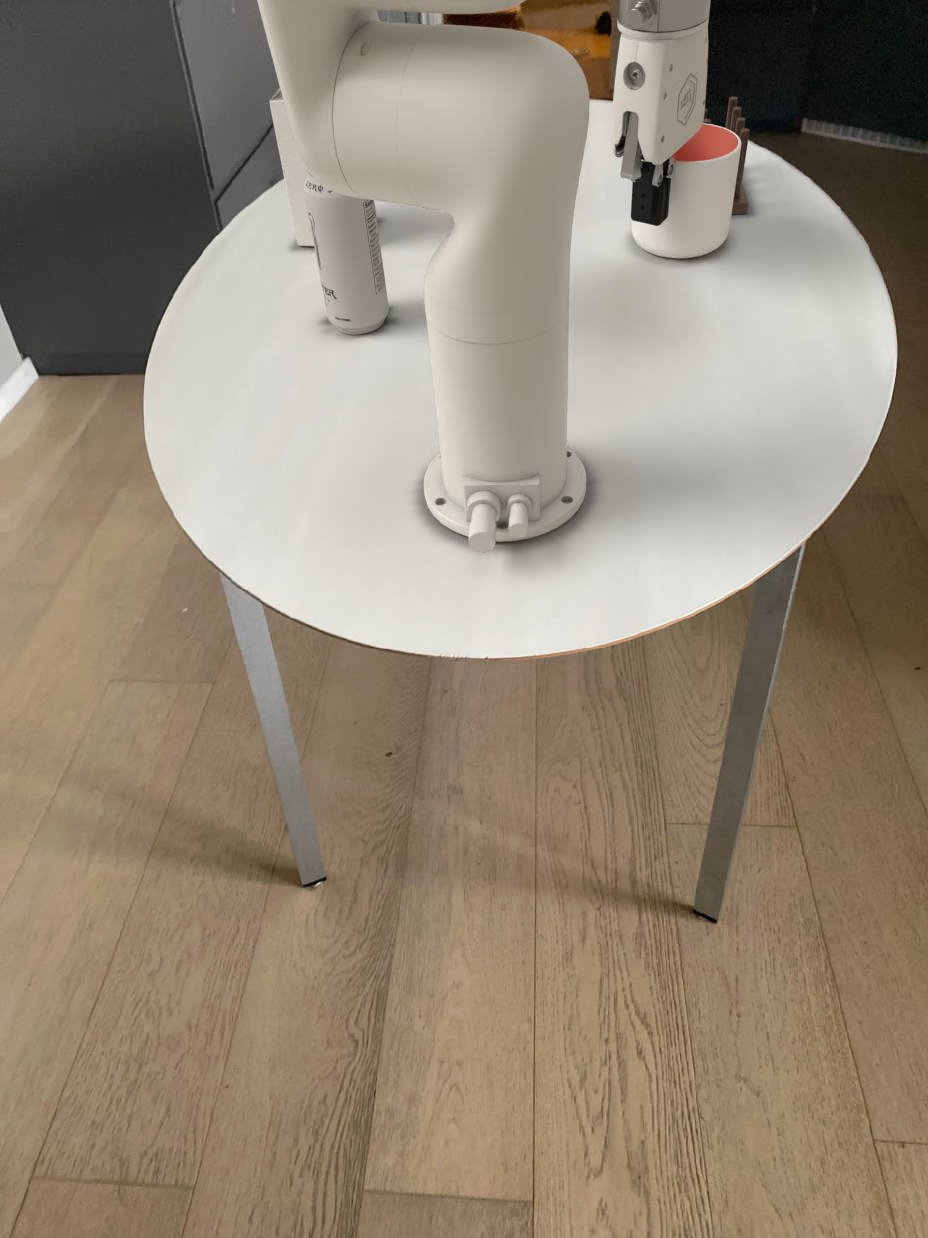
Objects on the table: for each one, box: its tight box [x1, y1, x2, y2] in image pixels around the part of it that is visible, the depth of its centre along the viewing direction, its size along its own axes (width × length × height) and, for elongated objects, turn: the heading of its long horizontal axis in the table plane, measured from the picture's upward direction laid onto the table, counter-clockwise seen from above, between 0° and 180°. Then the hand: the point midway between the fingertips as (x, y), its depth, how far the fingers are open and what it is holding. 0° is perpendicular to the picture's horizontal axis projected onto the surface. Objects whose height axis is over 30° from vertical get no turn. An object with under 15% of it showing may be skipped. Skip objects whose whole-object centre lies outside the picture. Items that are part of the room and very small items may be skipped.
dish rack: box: [703, 96, 750, 215], centre depth 105 cm, size 12×6×8 cm, turn 177°
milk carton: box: [269, 87, 314, 247], centre depth 100 cm, size 7×7×19 cm
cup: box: [631, 123, 741, 259], centre depth 96 cm, size 10×10×10 cm
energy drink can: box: [303, 167, 390, 335], centre depth 88 cm, size 6×6×15 cm
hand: (649, 219), depth 92 cm, fingers closed
